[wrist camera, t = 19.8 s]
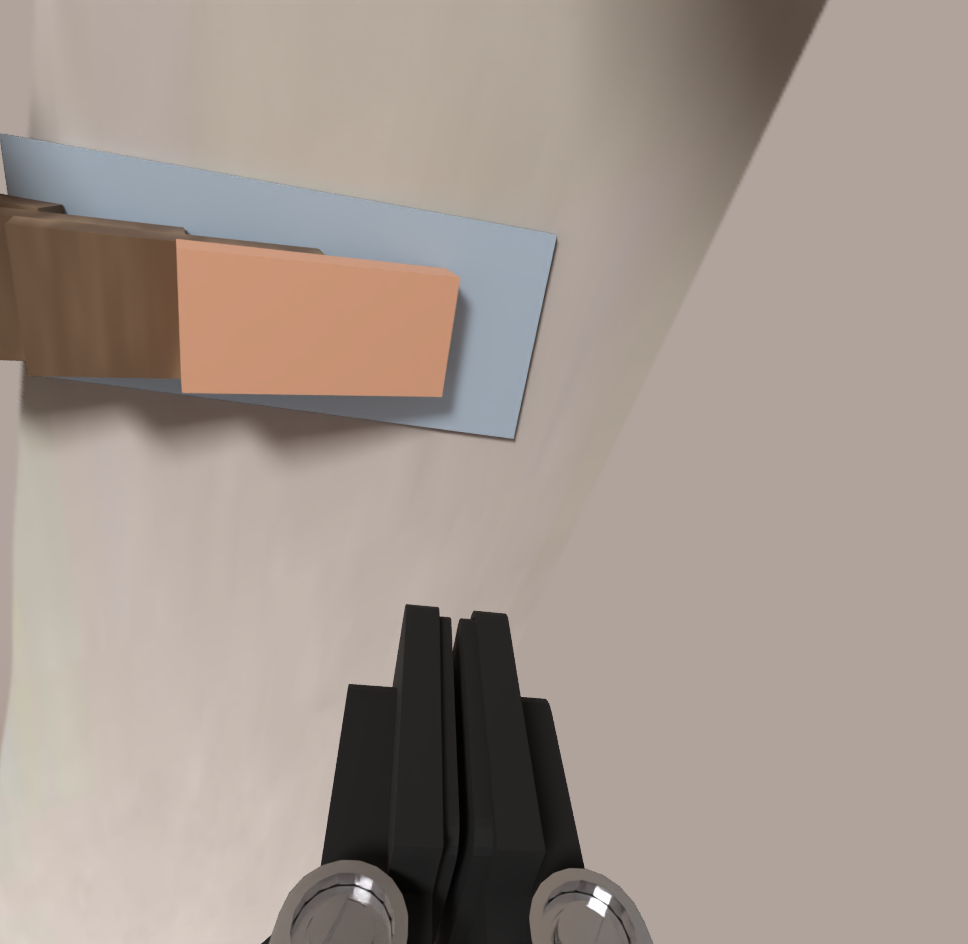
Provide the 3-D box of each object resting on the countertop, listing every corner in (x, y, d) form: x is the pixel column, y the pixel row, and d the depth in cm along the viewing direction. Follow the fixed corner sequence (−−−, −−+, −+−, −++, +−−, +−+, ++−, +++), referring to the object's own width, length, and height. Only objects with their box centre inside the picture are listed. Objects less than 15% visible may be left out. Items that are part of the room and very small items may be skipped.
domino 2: (312, 367, 33) (34, 360, 28) (318, 248, 31) (13, 215, 25) (319, 381, 32) (27, 376, 26) (327, 257, 29) (5, 223, 24)
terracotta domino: (460, 277, 30) (177, 248, 25) (441, 396, 33) (182, 393, 27) (445, 268, 32) (175, 238, 26) (429, 382, 34) (180, 376, 29)
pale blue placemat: (4, 133, 28) (-1, 133, 28) (555, 234, 32) (556, 235, 31) (37, 372, 33) (33, 375, 32) (512, 436, 36) (513, 438, 36)
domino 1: (188, 351, 32) (-124, 341, 27) (183, 227, 30) (-162, 188, 24) (189, 364, 31) (-141, 356, 25) (185, 234, 28) (-184, 195, 23)
